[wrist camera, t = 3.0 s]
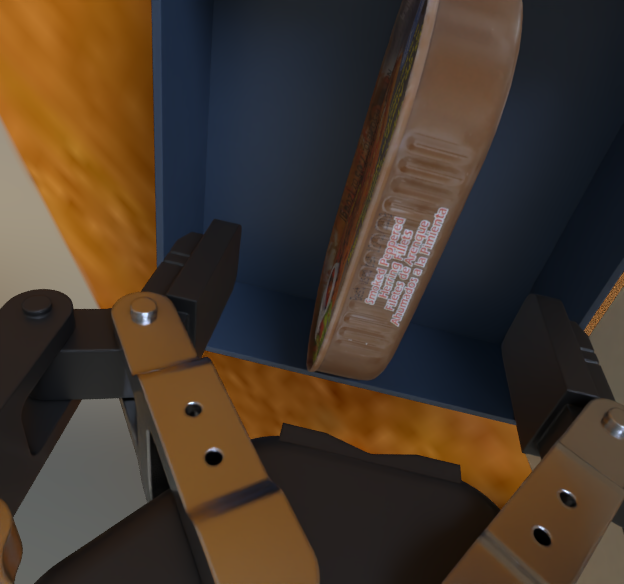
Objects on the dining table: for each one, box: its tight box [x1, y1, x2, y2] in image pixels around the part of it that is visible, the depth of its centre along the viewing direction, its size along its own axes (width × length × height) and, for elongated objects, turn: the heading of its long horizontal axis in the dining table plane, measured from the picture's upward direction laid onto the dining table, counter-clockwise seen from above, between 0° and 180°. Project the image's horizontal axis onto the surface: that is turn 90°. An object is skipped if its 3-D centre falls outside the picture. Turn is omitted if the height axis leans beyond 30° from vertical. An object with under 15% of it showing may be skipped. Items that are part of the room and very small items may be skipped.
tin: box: [307, 0, 523, 380], centre depth 18 cm, size 15×3×8 cm, turn 167°
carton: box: [151, 0, 624, 425], centre depth 20 cm, size 18×17×5 cm
